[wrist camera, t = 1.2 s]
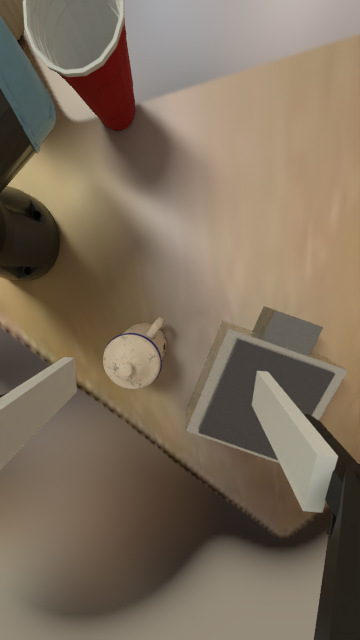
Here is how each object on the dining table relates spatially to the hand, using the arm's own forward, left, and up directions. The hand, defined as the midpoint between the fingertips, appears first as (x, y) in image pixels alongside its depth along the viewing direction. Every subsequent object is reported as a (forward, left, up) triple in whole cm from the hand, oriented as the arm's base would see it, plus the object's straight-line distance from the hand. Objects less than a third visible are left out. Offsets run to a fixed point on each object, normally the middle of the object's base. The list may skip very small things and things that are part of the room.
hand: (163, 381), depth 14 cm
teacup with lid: (-5, -6, -24) cm, 25 cm away
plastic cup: (-21, +28, -24) cm, 42 cm away
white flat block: (+17, -5, -23) cm, 30 cm away
